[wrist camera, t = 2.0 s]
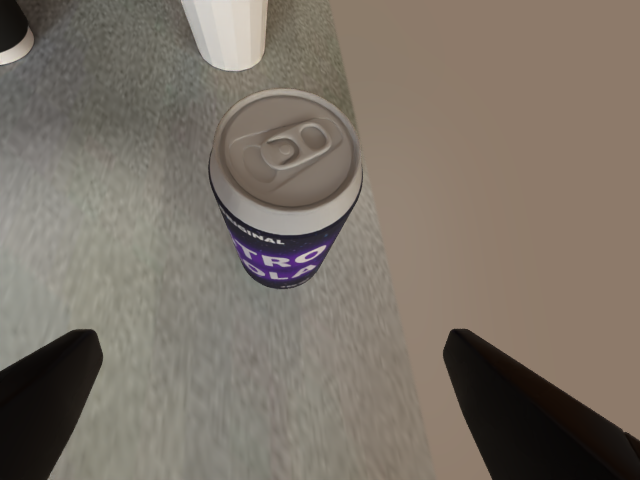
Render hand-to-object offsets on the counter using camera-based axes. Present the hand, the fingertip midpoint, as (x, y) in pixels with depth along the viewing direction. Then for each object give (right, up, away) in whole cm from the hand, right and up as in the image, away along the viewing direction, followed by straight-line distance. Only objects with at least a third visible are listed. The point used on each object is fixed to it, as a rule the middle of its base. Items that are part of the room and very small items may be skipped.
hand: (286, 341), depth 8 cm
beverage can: (-2, +2, +14) cm, 14 cm away
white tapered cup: (-7, +19, +19) cm, 28 cm away
